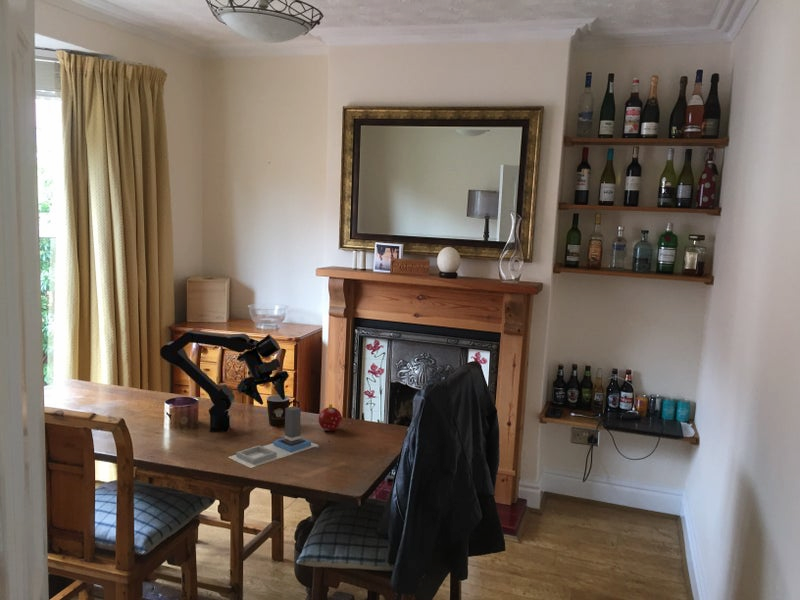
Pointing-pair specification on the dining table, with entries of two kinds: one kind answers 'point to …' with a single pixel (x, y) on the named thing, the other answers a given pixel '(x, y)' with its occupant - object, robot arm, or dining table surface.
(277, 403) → the coffee mug
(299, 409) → the plug
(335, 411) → the christmas ornament
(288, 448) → the board
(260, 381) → the robot arm
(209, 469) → the dining table surface
